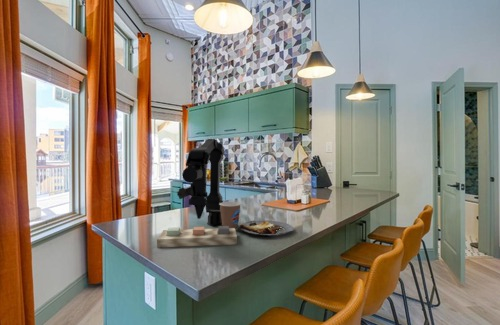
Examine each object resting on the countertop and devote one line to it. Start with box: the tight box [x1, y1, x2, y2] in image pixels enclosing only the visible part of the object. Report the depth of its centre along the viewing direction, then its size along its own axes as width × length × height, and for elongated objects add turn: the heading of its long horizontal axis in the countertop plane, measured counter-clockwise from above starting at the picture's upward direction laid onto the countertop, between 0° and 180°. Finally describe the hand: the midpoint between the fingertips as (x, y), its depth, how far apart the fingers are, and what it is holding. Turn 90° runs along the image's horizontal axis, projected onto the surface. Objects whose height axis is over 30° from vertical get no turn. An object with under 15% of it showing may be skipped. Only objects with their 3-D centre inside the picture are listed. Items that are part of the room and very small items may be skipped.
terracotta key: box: [192, 226, 206, 235], centre depth 102 cm, size 4×4×4 cm
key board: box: [156, 228, 238, 248], centre depth 102 cm, size 30×12×3 cm, turn 98°
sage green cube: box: [166, 226, 181, 236], centre depth 101 cm, size 4×4×4 cm
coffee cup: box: [220, 201, 242, 231], centre depth 120 cm, size 10×10×12 cm
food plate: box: [238, 219, 295, 237], centre depth 117 cm, size 25×23×4 cm
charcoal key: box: [217, 225, 229, 234], centre depth 103 cm, size 4×4×4 cm
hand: (199, 218), depth 102 cm, fingers closed
